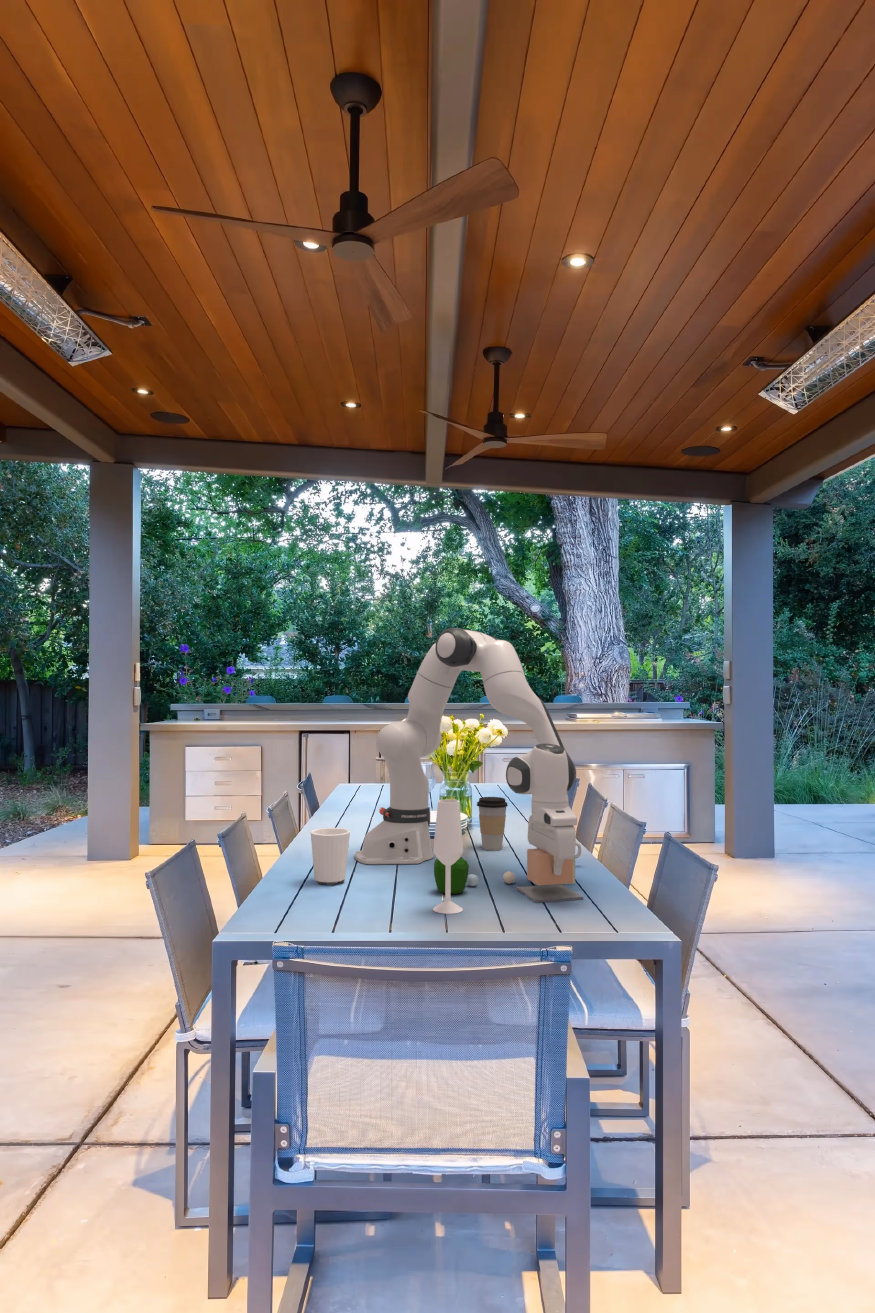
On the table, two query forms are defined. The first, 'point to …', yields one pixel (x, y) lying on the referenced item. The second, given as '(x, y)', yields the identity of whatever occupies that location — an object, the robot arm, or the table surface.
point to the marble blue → (472, 880)
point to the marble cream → (509, 877)
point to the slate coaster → (549, 893)
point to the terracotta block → (547, 868)
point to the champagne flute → (448, 847)
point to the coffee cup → (492, 822)
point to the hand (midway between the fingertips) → (549, 870)
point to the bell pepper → (452, 875)
